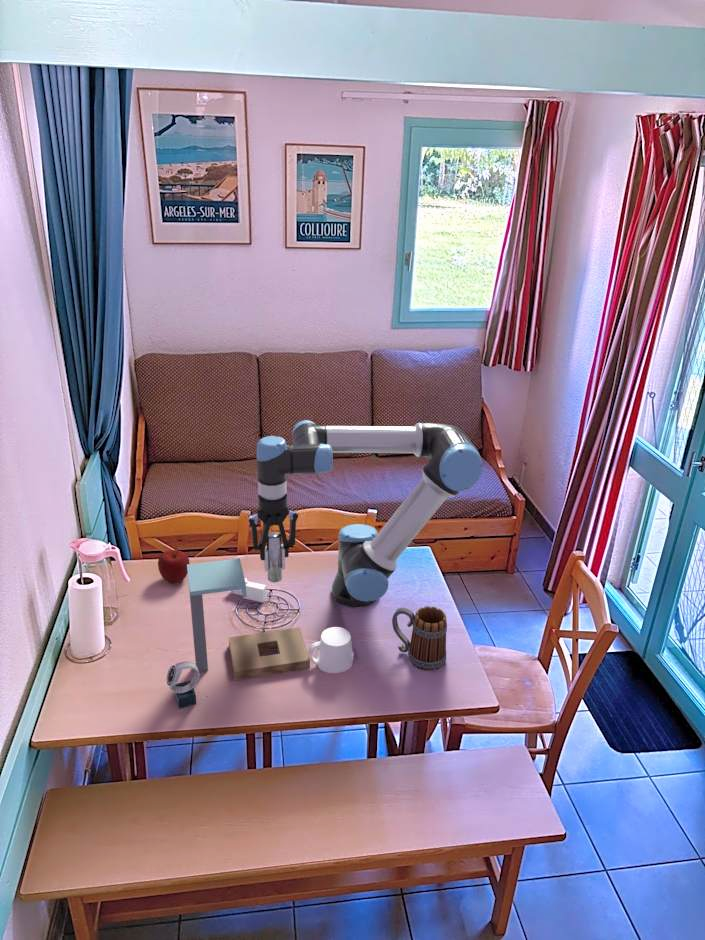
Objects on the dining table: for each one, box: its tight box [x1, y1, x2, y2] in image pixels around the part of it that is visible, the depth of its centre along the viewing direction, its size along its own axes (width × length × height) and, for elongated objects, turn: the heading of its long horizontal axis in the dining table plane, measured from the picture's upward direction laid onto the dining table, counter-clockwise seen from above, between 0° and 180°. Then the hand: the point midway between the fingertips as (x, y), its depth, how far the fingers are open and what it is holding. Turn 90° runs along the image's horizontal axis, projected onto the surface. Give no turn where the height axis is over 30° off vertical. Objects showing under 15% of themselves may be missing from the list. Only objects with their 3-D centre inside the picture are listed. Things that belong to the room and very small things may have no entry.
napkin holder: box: [230, 577, 268, 604], centre depth 223 cm, size 15×11×6 cm
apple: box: [157, 549, 190, 585], centre depth 227 cm, size 10×10×10 cm
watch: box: [166, 661, 201, 709], centre depth 181 cm, size 6×8×11 cm
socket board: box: [228, 627, 311, 682], centre depth 198 cm, size 20×14×3 cm
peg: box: [266, 531, 283, 583], centre depth 200 cm, size 4×4×14 cm
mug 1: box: [308, 626, 354, 674], centre depth 195 cm, size 12×9×8 cm
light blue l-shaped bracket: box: [187, 558, 246, 673], centre depth 189 cm, size 14×12×29 cm
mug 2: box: [391, 605, 448, 672], centre depth 197 cm, size 16×11×15 cm
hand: (274, 567), depth 202 cm, fingers closed on peg, 4 cm apart
